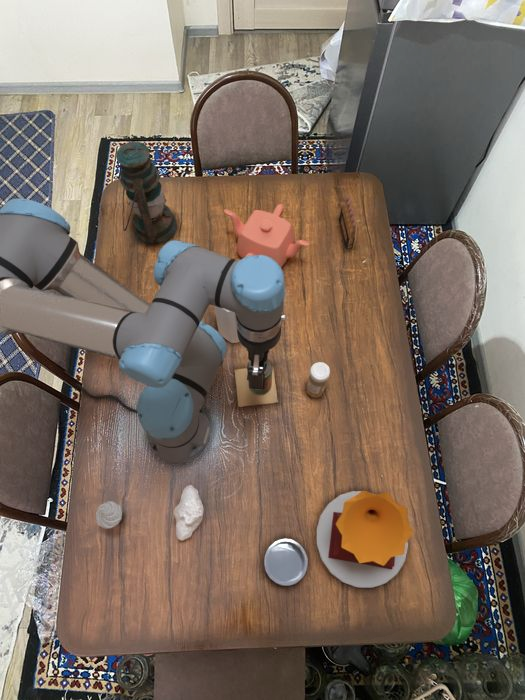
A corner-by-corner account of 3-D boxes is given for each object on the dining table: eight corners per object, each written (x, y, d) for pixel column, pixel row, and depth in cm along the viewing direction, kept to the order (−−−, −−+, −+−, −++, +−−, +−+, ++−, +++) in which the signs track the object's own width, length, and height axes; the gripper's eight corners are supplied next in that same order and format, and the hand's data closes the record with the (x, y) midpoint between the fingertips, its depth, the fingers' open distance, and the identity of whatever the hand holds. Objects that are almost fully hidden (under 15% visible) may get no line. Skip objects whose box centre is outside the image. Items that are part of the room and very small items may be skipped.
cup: (211, 338, 137) (204, 306, 120) (222, 302, 141) (217, 265, 124) (252, 348, 136) (251, 316, 119) (262, 311, 140) (262, 275, 123)
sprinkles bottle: (327, 391, 131) (334, 373, 119) (312, 401, 130) (318, 383, 118) (316, 377, 133) (322, 357, 120) (302, 386, 132) (306, 367, 119)
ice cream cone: (120, 501, 121) (102, 492, 107) (138, 517, 119) (122, 510, 105) (103, 520, 119) (82, 514, 105) (120, 537, 118) (102, 533, 104)
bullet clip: (338, 219, 152) (344, 191, 141) (344, 218, 152) (351, 190, 141) (345, 249, 148) (352, 223, 137) (352, 248, 148) (359, 222, 137)
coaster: (238, 407, 130) (238, 406, 129) (234, 370, 134) (234, 369, 133) (277, 402, 130) (277, 402, 130) (272, 365, 134) (272, 365, 134)
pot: (242, 284, 143) (241, 260, 132) (226, 234, 150) (223, 206, 138) (306, 268, 146) (310, 242, 134) (287, 219, 152) (289, 190, 141)
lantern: (179, 253, 147) (160, 180, 120) (128, 257, 147) (97, 185, 119) (175, 198, 155) (157, 117, 127) (127, 202, 154) (98, 122, 127)
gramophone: (321, 484, 122) (335, 465, 99) (408, 500, 121) (443, 483, 98) (309, 578, 114) (321, 580, 91) (402, 595, 113) (439, 602, 90)
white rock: (188, 542, 119) (214, 544, 111) (158, 538, 115) (184, 539, 107) (196, 489, 124) (222, 486, 115) (168, 483, 120) (193, 480, 111)
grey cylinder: (263, 583, 114) (263, 584, 108) (265, 539, 118) (265, 537, 112) (304, 586, 114) (307, 586, 108) (305, 541, 117) (308, 540, 112)
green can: (275, 382, 114) (277, 362, 103) (263, 400, 113) (263, 382, 102) (256, 370, 116) (256, 349, 104) (244, 388, 114) (242, 368, 103)
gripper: (276, 376, 82) (273, 416, 103) (286, 278, 89) (281, 334, 110) (229, 371, 82) (235, 412, 104) (243, 273, 89) (246, 331, 111)
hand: (259, 372), depth 107 cm, fingers closed on green can, 5 cm apart
